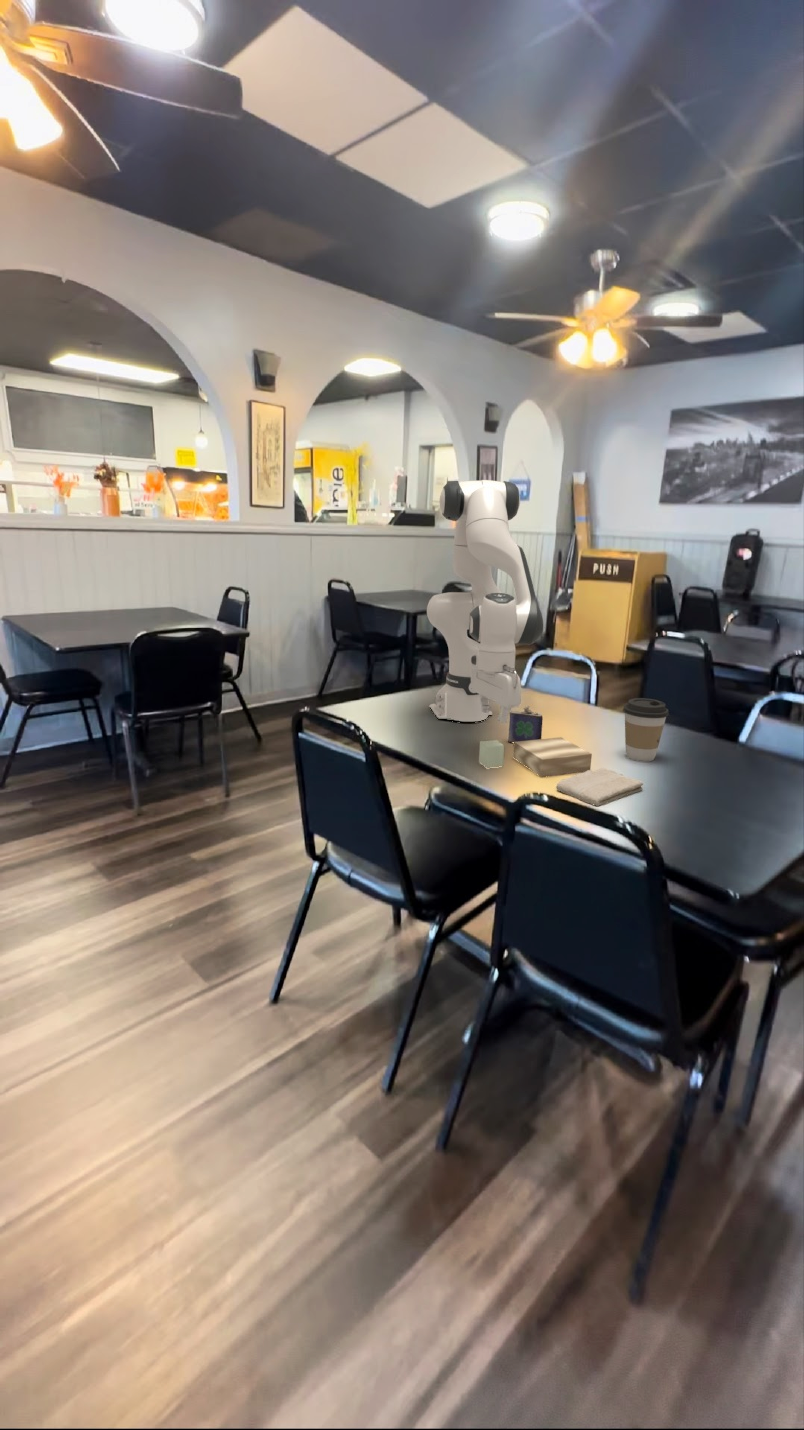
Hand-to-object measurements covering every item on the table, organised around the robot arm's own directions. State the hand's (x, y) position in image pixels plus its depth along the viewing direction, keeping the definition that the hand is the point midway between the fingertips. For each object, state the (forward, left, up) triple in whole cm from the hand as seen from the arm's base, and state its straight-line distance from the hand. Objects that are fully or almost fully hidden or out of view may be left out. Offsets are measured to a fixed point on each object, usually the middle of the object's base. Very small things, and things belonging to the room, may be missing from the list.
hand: (493, 716), depth 165 cm
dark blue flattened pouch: (-13, +17, -13) cm, 25 cm away
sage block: (0, 0, -13) cm, 13 cm away
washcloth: (+22, +17, -14) cm, 31 cm away
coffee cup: (+6, +41, -13) cm, 44 cm away
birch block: (+4, +15, -13) cm, 21 cm away
